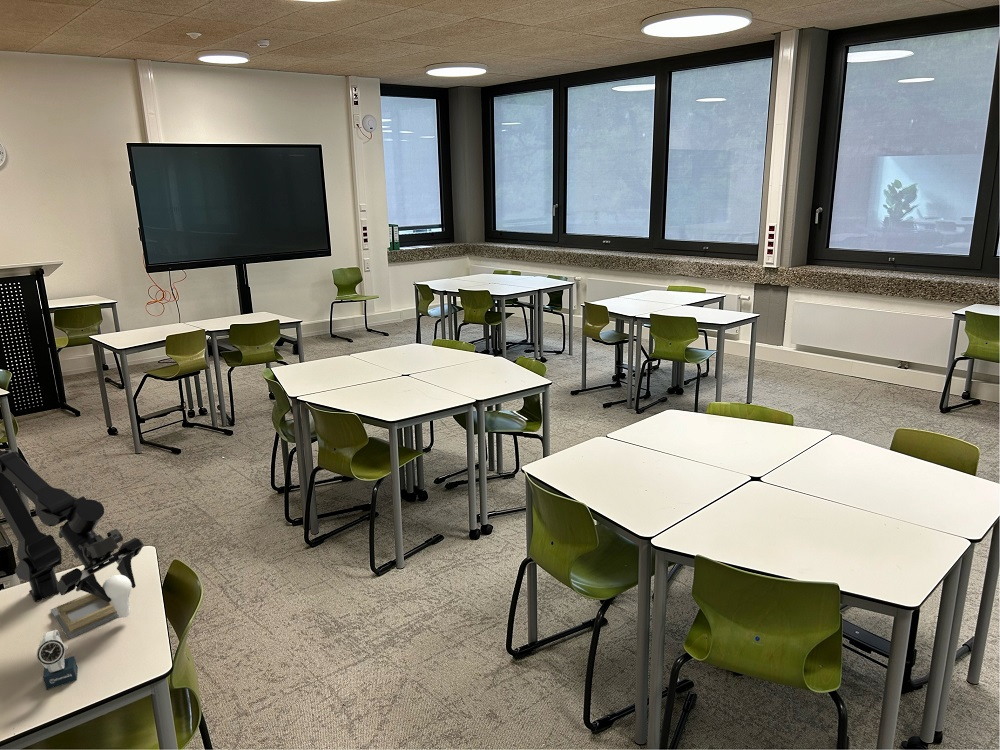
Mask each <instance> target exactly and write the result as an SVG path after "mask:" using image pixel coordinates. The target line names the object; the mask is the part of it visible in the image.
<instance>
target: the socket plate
mask: <svg viewBox="0 0 1000 750" xmlns="http://www.w3.org/2000/svg"><path fill="white" fill-rule="evenodd" d="M50 612H51V613H50V614H51V615H52V616H53V617H55V618H54V619H55V620H56V622H57V624H58V625H59V627H60V628H61V630H62V632H63V633H64V635H65V637H66V638H67V639H68V640H69V639H71V638H74V637H76V636H79V635H81V634H83V633H85V632H87V631H90V630H92V629H94V628H96V627H98V626H101V625H102V624H105V623H107V622H109V621H112V620H114V619H116V618H119V616H118V614H117V611H116V610H115V608H114V606H113V605H112V604H111V603H110V602H107V601H105V600H103V599H101V598H99V597H97V596H95V595H93V594H90V593H87V594H84V595H81V596H80V597H77V598H75V599H72V600H70V601H68V602H64V603H63V604H60V605H58V606H55V607H54V608H51V609H50Z"/></svg>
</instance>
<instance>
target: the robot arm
mask: <svg viewBox="0 0 1000 750" xmlns="http://www.w3.org/2000/svg"><path fill="white" fill-rule="evenodd" d="M17 489H18V490H19V491H20V492H22V493H23V494H24V495H25V496H26V497H27V498H28V500H30V501H31V502H32V503H33V504H34V509H35V513H36V516H37V517H38V518H39V520H40V521H41V523H42V524H43V525H46V526H48V527H50V528H51V527H56V526H57V525H60V524H62V523H63V525H60V526H59V532H58V538H60V539H63V538H64V540H65V542H66V543H67V544H68V546H69V547H70V549H71V550H72V552H73V553H74V554H73V556H74V558H75V559H78V560H79V561H80V562H81V564H82V565H83V567H84V568H83V569H82V570H81V569H80V568H77V567H75V568H74V569H72V570H70V571H68V572H66V573H64V574H62V575H61V576H60V578H59V580H58V578H57V574H56V572H55V568H56V567H57V566H60V565H61V564H62V563H63V561H62V555H63V554H62V549H61V547H60V546H59V545H58V544H57V542H56V540H55V538H54V536H53V535H51V534H50V533H49V534H45V533H43V532H41V531H40V529H39V528H38V526H37V524H36V522H35V521H34V518H33V517H32V515H31V514H30V512H29V510H28V508H27V506H26V504H25V502H24V501H23V499H22V497H21V495H20V494H19V492H18V490H17ZM0 511H1V513H2V515H3V516H4V518H5V520H6V522H7V524H8V525H9V527H10V529H11V531H12V532H13V534H14V536H15V538H16V539H17V542H18V543H17V551H16V556H17V558H18V560H19V562H18V564H17V566H16V567H15V569H14V573H15V575H16V576H17V578H18V579H20V580H22V581H23V580H24V581H27V582H28V583H29V585H30V586H29V587H30V590H29V591H28V592H29V594H30V597H31V598H32V600H33V601H34V602H35V603H37V602H39V601H41V600H45V599H47V598H49V597H51V596H54V595H57V594H60V596H65V595H66V594H68V593H71V592H72V591H74V590H75V591H76V592H80V591H82V592H84V593H85V592H86V593H87V594H89V593H90V594H93V595H95V596H97V597H99V598H101V599H103V600H105V601H107V602H111V598H109V597H108V596H107V594H106V592H105V590H104V589H103V588H102V586H103V585H102V586H101V584H100V583H99V582H98V580H97V577H96V575H95V573H97V572H99V571H101V570H103V569H104V568H107V567H108V566H111V565H113V564H115V563H116V564H117V566H116V570H117V571H118V573H119V575H124V576H126V577H127V578H128V579H129V580H130V581H131V584H132V589H135V588H136V581H135V577H134V573H133V568H132V560H133V558H135V557H137V556H138V555H139V554H140V552H141V550H142V549H143V547H144V546H145V544H144V543H143V541H142V540H141V539H140V538H137V537H134V538H132V539H130V540H128V541H126V542H124V543H122V544H121V546H120V547H119V544H118V543H121V542H123V540H124V537H123V535H122V533H121V532H120V531H119V530H118V528H114V529H112V530H110V531H108V532H107V533H106V535H107V537H105V538H104V537H103V536H102V535H101V534H98V535H97V533H96V532H95V528H96V527H97V525H98V523H99V522H100V520H101V519H102V518H103V516H104V513H105V507H104V505H103V504H102V503H101V502H99V501H98V500H95V499H92V498H91V499H87V498H86V497H85V496H80V497H78V498H77V497H75V496H72V495H71V494H70V493H68V492H67V491H65V490H64V489H62V488H56V487H53V486H52V485H50V484H49V483H48V482H47V481H46V480H45V479H43V478H42V477H41V476H40V475H39V473H37V472H36V471H35V470H34V469H33V468H32V467H30V466H29V464H27V463H26V462H25V461H24V460H23V458H22V455H21V454H20V453H19V452H18V451H15V450H13V451H12V449H6V450H1V449H0ZM116 549H118V551H116V552H114V551H115V550H116ZM113 552H114V553H113Z"/></svg>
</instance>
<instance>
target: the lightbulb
mask: <svg viewBox="0 0 1000 750" xmlns="http://www.w3.org/2000/svg"><path fill="white" fill-rule="evenodd" d="M102 588H103V589H104V590H105V592H106V594H107V596H108V597H109V598H111V602H110V603H111V604H112V605H113V606H114V608H115V610H116V611H117V614H118V618H123V619H124V618H127V617H128V616H129V615H130V614H131V609H130V595H131V592H132V589H133V588H132V584H131V581H130V580H129V579H128V578H127V577H126V576H124V575H121V574H114V575H111V576H110V577H108V578H106V580H105V581H104V582H103V584H102Z"/></svg>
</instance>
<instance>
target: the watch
mask: <svg viewBox="0 0 1000 750" xmlns="http://www.w3.org/2000/svg"><path fill="white" fill-rule="evenodd" d="M68 649H69V648H68V645H67V644H66V645H65V644H64V643H63V639H62V638H61V635H60V632H59V630H58V629H55V630H51V631H48V632H44V633H43V635H42V640H40V641H39V645H38V649H37V652H36V658H37V661H39V663H41V665H42V666H43V674H42V680H43V684H44V686H45V688H46V689H45V690H50V689H53V688H56V687H59V686H62V685H66V684H68V683H71V682H75V681H78V672H79V671H78V670H79V666H78V663H77V660H76V655H73V656H69V657H66V658H65V656H66V654H65V653H66V650H68Z"/></svg>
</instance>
